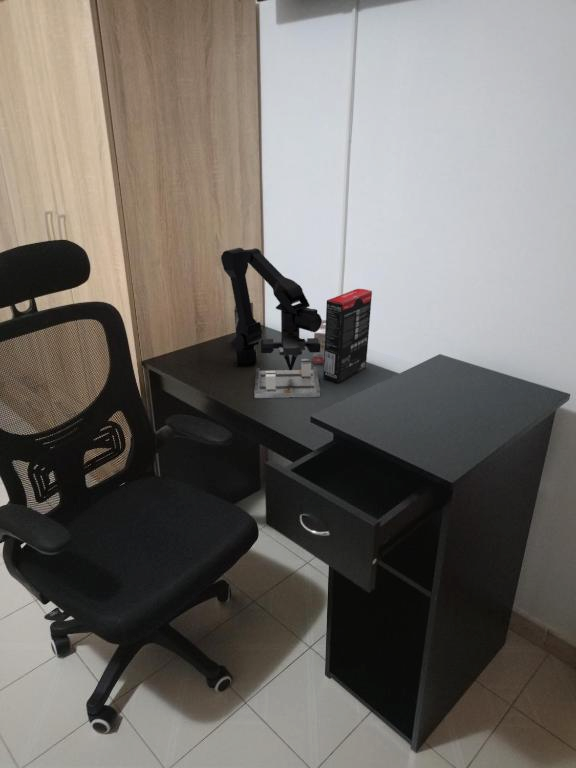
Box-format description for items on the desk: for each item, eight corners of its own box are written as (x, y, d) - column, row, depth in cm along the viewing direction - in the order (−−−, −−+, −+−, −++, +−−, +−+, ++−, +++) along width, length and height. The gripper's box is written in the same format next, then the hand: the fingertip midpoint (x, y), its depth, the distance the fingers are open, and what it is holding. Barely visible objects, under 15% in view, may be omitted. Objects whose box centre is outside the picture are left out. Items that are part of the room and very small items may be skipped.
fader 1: (265, 389, 168) (265, 375, 166) (266, 383, 172) (265, 370, 170) (275, 389, 168) (275, 375, 166) (275, 383, 172) (275, 370, 170)
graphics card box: (351, 362, 191) (354, 286, 179) (368, 367, 187) (373, 290, 175) (322, 379, 179) (324, 298, 167) (340, 385, 175) (342, 303, 163)
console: (254, 398, 167) (254, 390, 166) (256, 374, 183) (256, 367, 182) (319, 397, 168) (319, 389, 166) (316, 373, 183) (316, 366, 182)
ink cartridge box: (313, 364, 190) (313, 324, 184) (314, 358, 195) (314, 319, 188) (337, 364, 189) (339, 324, 183) (338, 359, 194) (339, 319, 187)
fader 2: (301, 376, 177) (301, 363, 175) (301, 371, 180) (301, 358, 178) (311, 376, 177) (311, 363, 175) (310, 371, 180) (310, 358, 178)
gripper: (260, 334, 164) (261, 381, 170) (322, 333, 164) (321, 380, 171) (260, 321, 174) (262, 366, 180) (319, 320, 174) (318, 365, 181)
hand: (290, 369), depth 178 cm, fingers closed
